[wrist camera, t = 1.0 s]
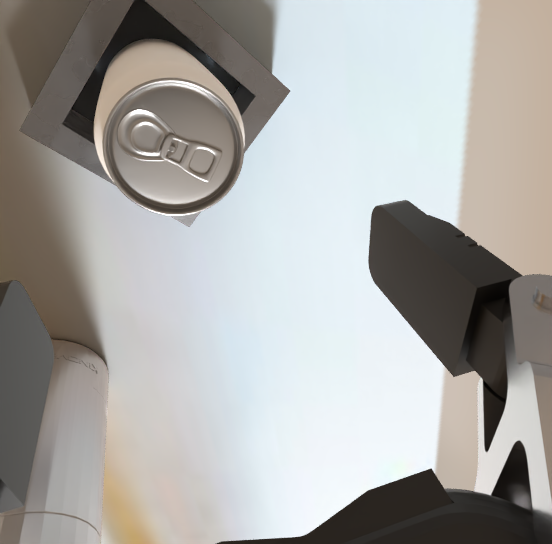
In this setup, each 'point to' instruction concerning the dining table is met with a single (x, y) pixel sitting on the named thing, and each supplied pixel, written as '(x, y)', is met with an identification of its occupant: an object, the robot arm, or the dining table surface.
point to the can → (167, 129)
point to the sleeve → (90, 47)
